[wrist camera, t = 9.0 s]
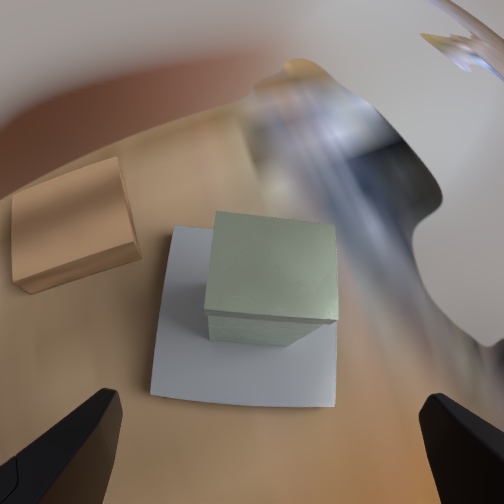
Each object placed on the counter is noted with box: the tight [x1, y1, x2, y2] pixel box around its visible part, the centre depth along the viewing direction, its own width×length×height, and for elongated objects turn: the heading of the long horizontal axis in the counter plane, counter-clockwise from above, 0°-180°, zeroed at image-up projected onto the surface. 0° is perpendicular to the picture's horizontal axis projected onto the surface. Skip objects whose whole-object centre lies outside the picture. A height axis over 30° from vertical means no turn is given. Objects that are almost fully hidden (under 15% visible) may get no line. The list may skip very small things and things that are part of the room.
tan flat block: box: [11, 156, 142, 294], centre depth 22 cm, size 8×10×3 cm
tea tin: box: [204, 211, 339, 347], centre depth 17 cm, size 4×5×9 cm
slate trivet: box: [150, 225, 337, 407], centre depth 22 cm, size 12×12×2 cm
